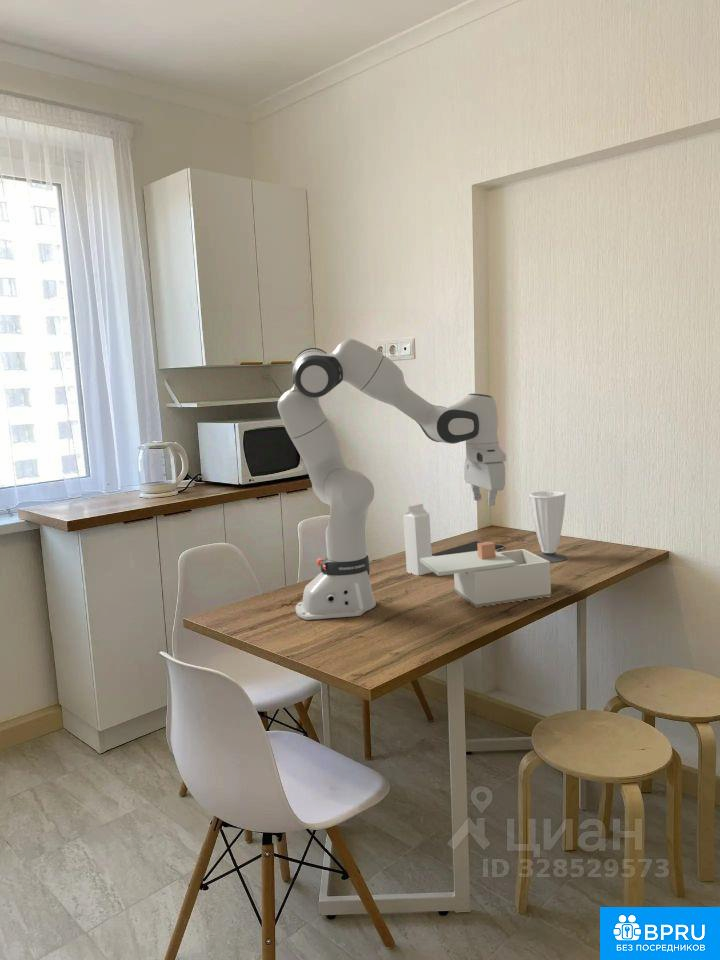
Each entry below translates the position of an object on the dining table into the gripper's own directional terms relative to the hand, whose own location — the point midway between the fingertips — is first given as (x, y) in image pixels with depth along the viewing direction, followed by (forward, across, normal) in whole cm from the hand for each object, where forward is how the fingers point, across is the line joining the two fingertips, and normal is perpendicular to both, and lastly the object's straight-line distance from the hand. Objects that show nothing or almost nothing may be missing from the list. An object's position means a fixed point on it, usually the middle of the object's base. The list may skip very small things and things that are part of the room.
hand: (484, 502), depth 197 cm
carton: (+27, 0, +4) cm, 27 cm away
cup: (+26, -28, +34) cm, 52 cm away
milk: (+27, -32, -10) cm, 43 cm away
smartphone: (+27, -48, +13) cm, 56 cm away
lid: (+16, 0, -6) cm, 17 cm away
